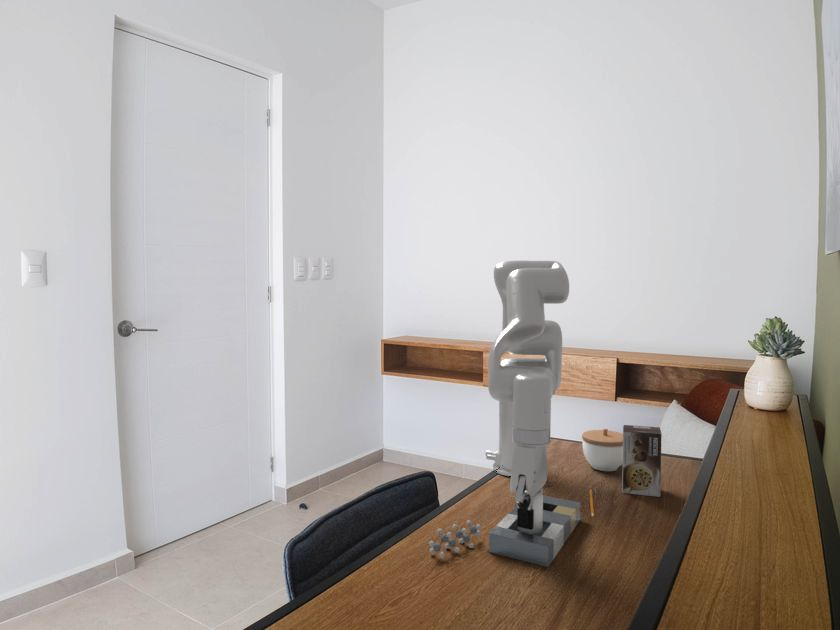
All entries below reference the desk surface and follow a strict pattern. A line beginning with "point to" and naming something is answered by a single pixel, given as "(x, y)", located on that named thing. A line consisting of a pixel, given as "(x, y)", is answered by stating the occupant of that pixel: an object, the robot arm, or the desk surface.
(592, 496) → the pencil
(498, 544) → the socket block
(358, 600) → the desk surface
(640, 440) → the coffee box
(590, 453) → the lidded bowl
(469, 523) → the molecular model
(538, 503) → the white capsule cylinder
